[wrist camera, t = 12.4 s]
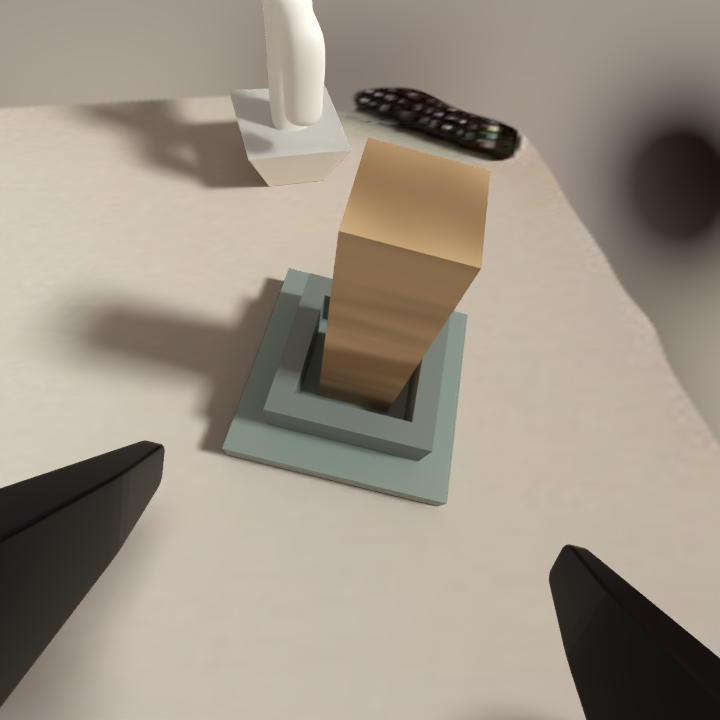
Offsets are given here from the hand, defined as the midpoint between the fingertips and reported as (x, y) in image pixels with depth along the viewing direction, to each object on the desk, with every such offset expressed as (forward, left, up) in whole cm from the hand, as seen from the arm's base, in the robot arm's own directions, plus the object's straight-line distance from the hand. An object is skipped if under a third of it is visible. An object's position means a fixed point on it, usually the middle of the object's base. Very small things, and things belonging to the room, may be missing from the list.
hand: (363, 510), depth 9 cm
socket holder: (+9, -1, -14) cm, 16 cm away
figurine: (+27, +6, -14) cm, 31 cm away
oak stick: (+9, -1, -12) cm, 15 cm away
